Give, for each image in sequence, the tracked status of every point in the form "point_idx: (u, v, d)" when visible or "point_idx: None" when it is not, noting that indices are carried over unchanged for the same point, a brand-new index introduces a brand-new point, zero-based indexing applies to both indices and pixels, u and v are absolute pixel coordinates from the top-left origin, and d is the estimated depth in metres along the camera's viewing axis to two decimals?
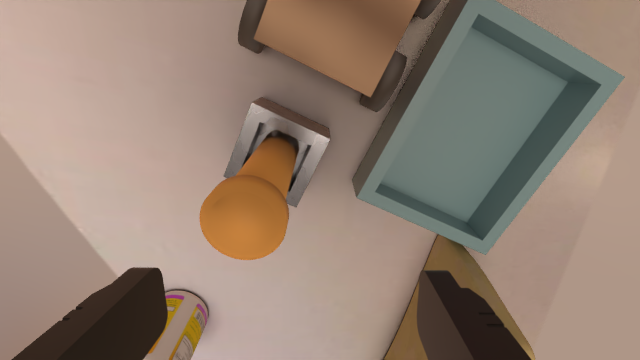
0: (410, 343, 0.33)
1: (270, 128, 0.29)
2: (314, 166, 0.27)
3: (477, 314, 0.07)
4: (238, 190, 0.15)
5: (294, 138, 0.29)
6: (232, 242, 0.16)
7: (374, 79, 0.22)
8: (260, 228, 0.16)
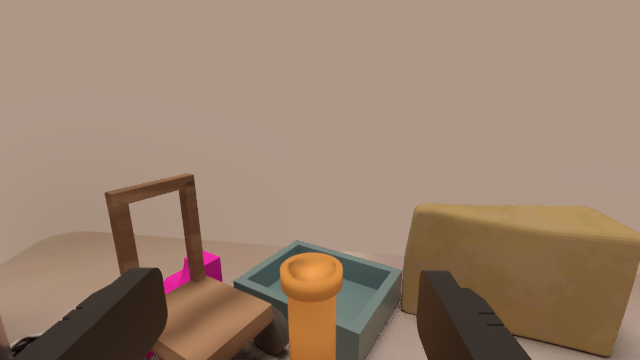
0: (509, 302, 0.35)
1: None
2: None
3: (477, 314, 0.07)
4: (286, 266, 0.22)
5: None
6: (326, 273, 0.21)
7: (260, 302, 0.32)
8: (317, 261, 0.22)
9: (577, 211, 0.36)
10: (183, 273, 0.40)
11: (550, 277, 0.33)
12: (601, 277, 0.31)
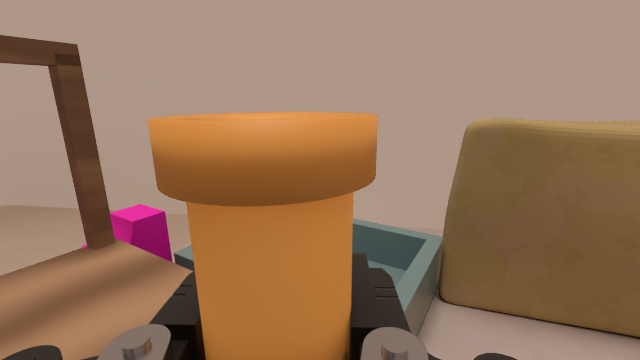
0: None
1: None
2: None
3: (372, 286, 0.08)
4: (184, 116, 0.06)
5: None
6: (318, 116, 0.06)
7: None
8: (291, 113, 0.07)
9: None
10: None
11: None
12: None
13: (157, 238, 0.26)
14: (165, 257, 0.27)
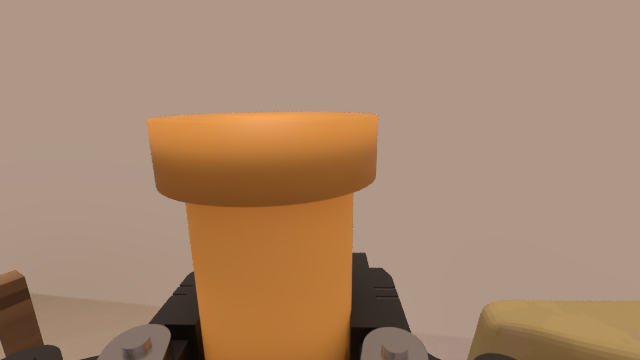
0: None
1: None
2: None
3: (372, 286, 0.08)
4: (183, 116, 0.06)
5: None
6: (318, 116, 0.06)
7: None
8: (291, 113, 0.07)
9: None
10: None
11: None
12: None
13: None
14: None
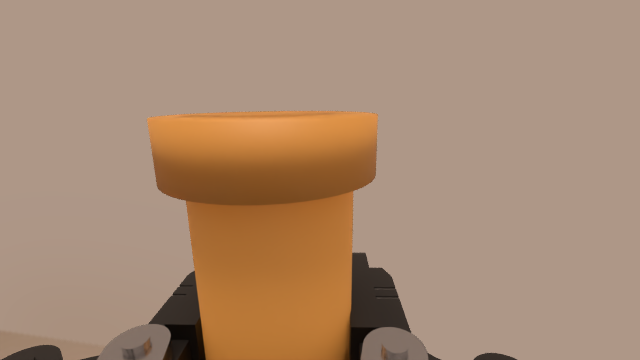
0: None
1: None
2: None
3: (371, 286, 0.08)
4: (183, 115, 0.06)
5: None
6: (318, 116, 0.06)
7: None
8: (291, 112, 0.07)
9: None
10: None
11: None
12: None
13: None
14: None
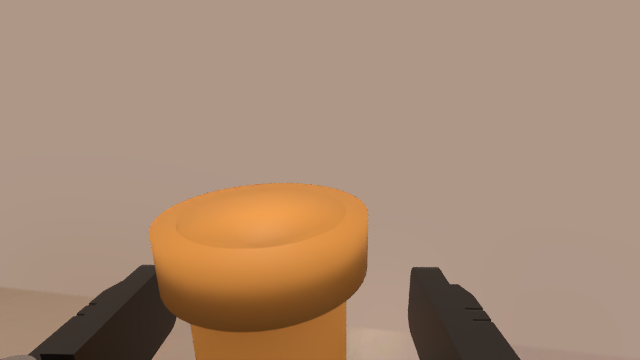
0: None
1: None
2: None
3: (464, 309, 0.07)
4: (183, 210, 0.07)
5: None
6: (311, 224, 0.06)
7: None
8: (286, 198, 0.07)
9: None
10: None
11: None
12: None
13: None
14: None
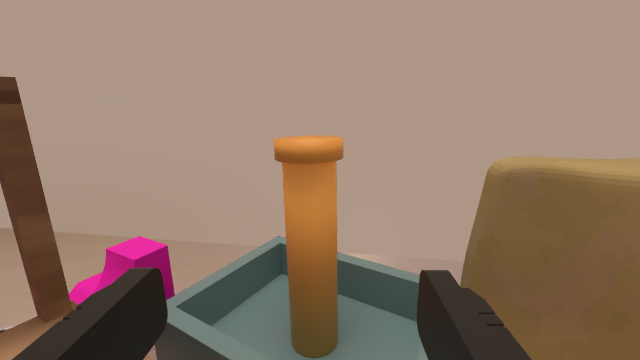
0: None
1: None
2: None
3: (477, 314, 0.07)
4: (280, 139, 0.20)
5: None
6: (324, 139, 0.19)
7: None
8: (314, 137, 0.20)
9: None
10: (104, 275, 0.24)
11: None
12: None
13: None
14: (168, 293, 0.25)
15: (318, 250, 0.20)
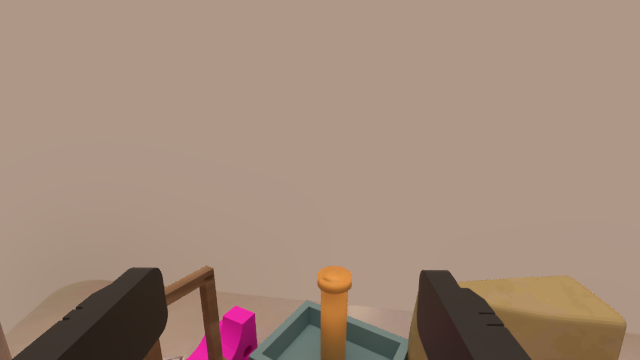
0: None
1: None
2: None
3: (477, 314, 0.07)
4: (320, 274, 0.40)
5: None
6: (343, 278, 0.39)
7: None
8: (337, 271, 0.40)
9: (563, 285, 0.39)
10: (222, 330, 0.45)
11: (547, 355, 0.36)
12: (591, 355, 0.35)
13: (251, 329, 0.45)
14: (254, 338, 0.46)
15: (338, 329, 0.40)
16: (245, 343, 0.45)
